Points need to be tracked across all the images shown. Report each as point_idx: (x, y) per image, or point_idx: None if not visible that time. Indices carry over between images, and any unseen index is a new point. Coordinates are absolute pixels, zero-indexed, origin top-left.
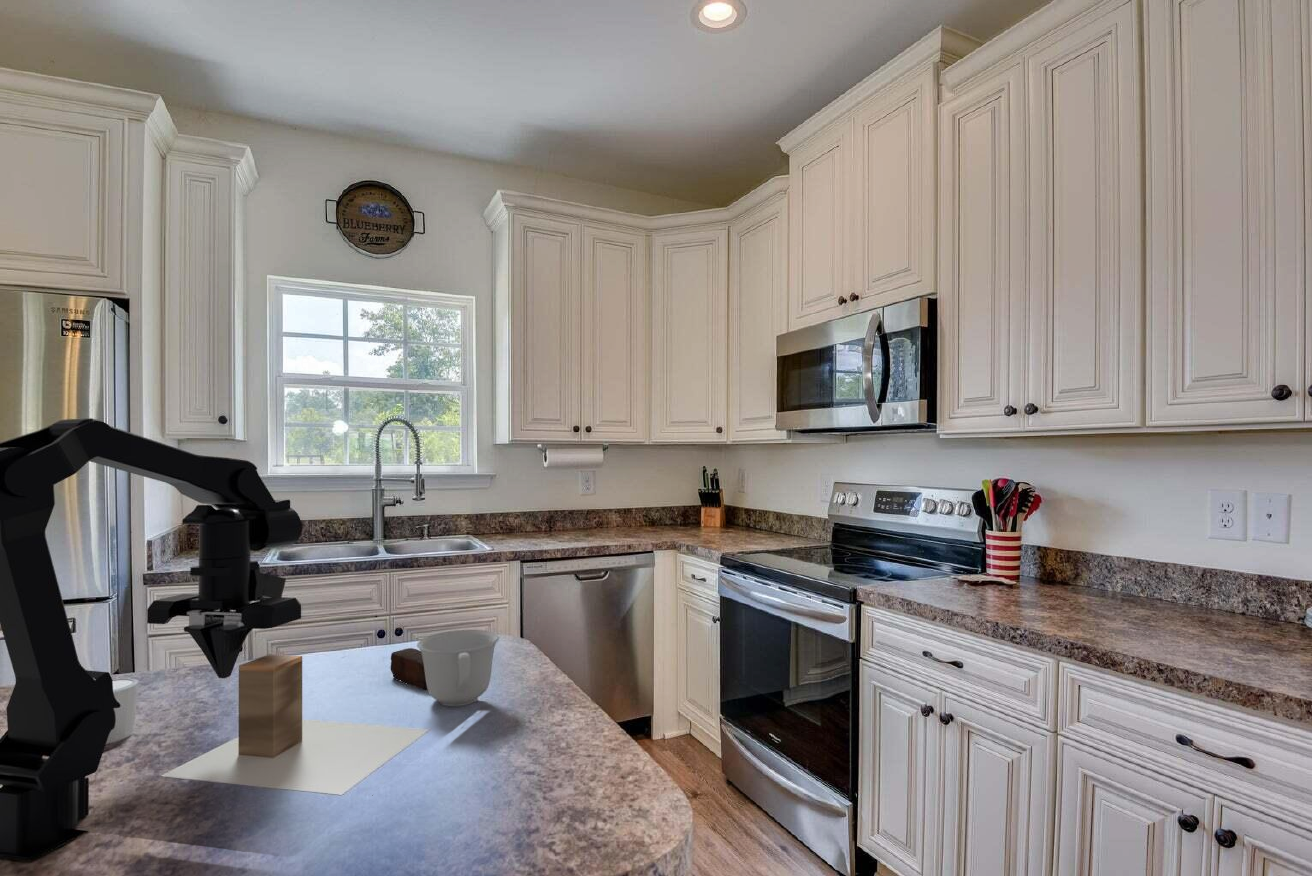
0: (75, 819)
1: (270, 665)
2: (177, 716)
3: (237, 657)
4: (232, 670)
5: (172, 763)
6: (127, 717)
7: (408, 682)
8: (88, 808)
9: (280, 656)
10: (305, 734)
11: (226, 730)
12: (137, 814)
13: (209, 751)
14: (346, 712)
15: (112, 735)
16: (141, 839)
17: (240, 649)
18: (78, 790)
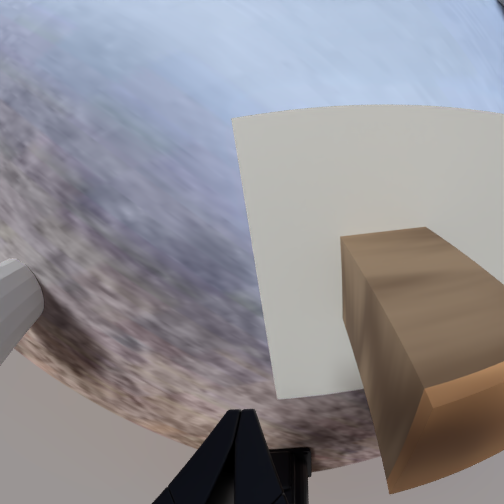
0: (303, 468)
1: (495, 448)
2: (11, 188)
3: (273, 464)
4: (257, 421)
5: (212, 341)
6: (19, 300)
7: None
8: (289, 458)
9: (501, 396)
10: (408, 193)
11: (146, 194)
12: (326, 427)
13: (266, 326)
14: (343, 9)
15: (37, 308)
16: (375, 439)
17: (285, 497)
18: (296, 486)
